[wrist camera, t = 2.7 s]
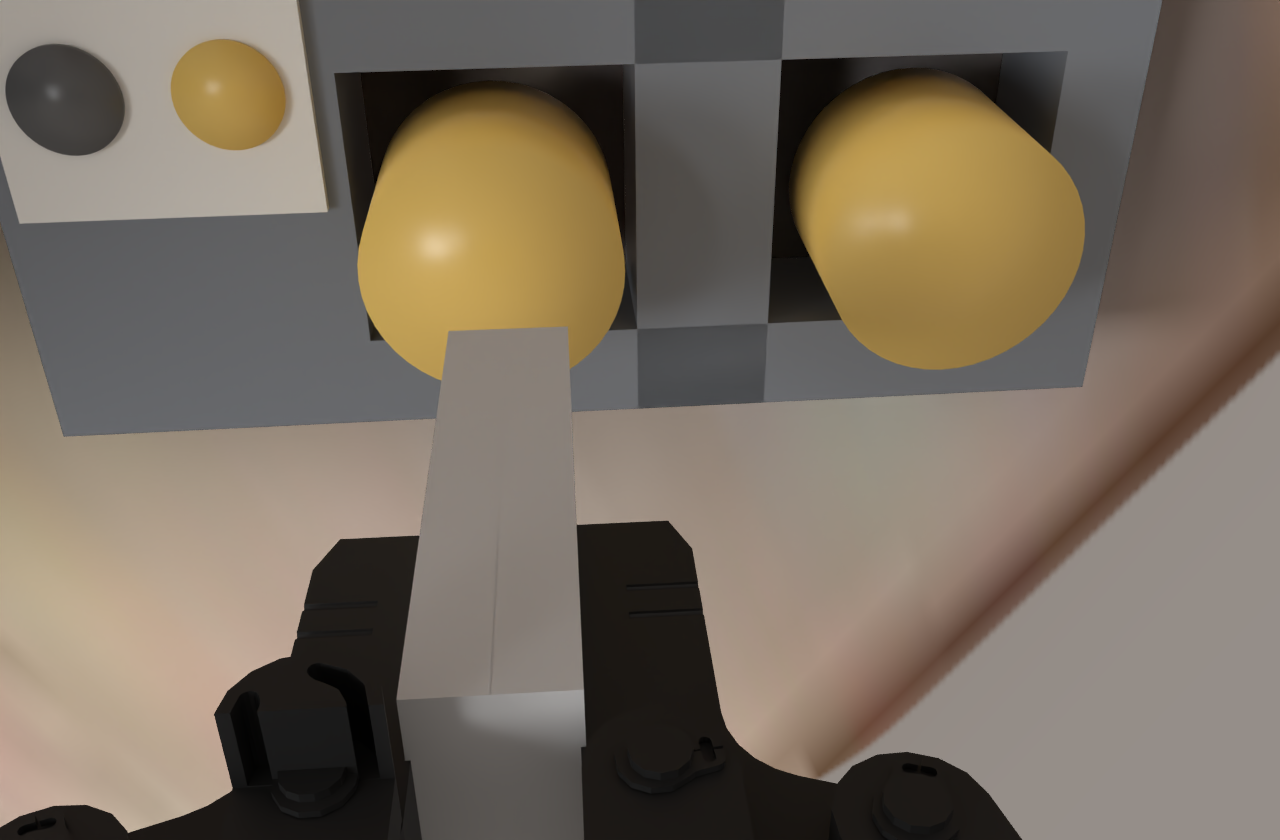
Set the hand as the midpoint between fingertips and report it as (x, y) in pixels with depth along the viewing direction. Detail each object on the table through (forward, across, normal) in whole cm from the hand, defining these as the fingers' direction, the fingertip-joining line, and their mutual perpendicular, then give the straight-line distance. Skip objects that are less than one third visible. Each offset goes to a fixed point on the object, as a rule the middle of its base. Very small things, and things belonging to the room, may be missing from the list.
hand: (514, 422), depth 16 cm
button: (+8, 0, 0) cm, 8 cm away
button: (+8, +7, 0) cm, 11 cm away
